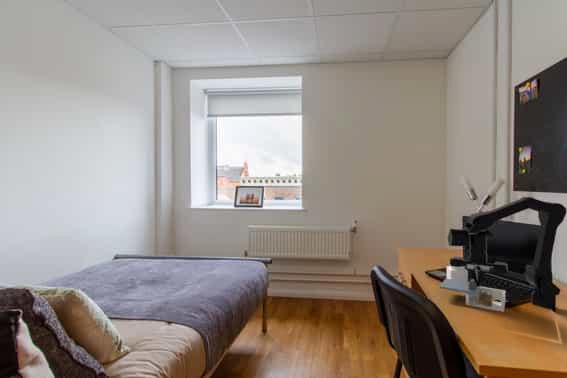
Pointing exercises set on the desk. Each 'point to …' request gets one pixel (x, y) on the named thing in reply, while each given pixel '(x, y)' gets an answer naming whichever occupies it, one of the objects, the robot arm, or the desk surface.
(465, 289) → the slate lid
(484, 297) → the letter cube
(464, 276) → the medicine bottle
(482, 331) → the desk surface
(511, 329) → the desk surface
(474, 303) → the box
